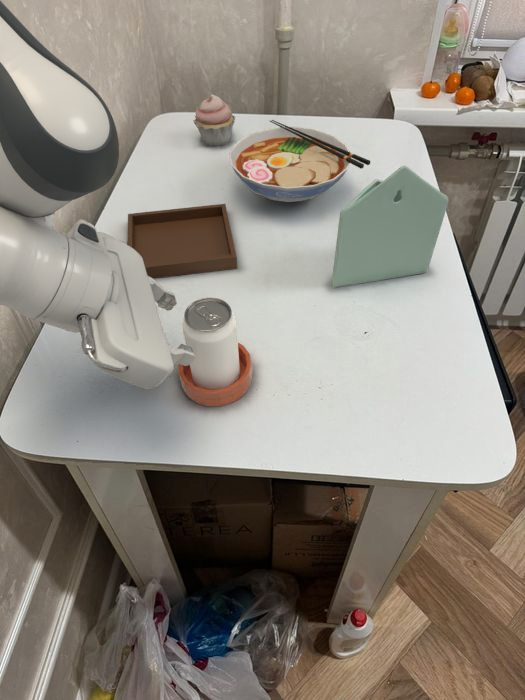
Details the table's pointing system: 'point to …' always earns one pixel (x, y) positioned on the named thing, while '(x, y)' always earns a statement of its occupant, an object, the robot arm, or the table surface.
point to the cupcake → (214, 121)
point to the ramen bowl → (291, 162)
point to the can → (212, 343)
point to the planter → (388, 230)
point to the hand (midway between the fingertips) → (181, 328)
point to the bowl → (220, 395)
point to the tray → (183, 240)
